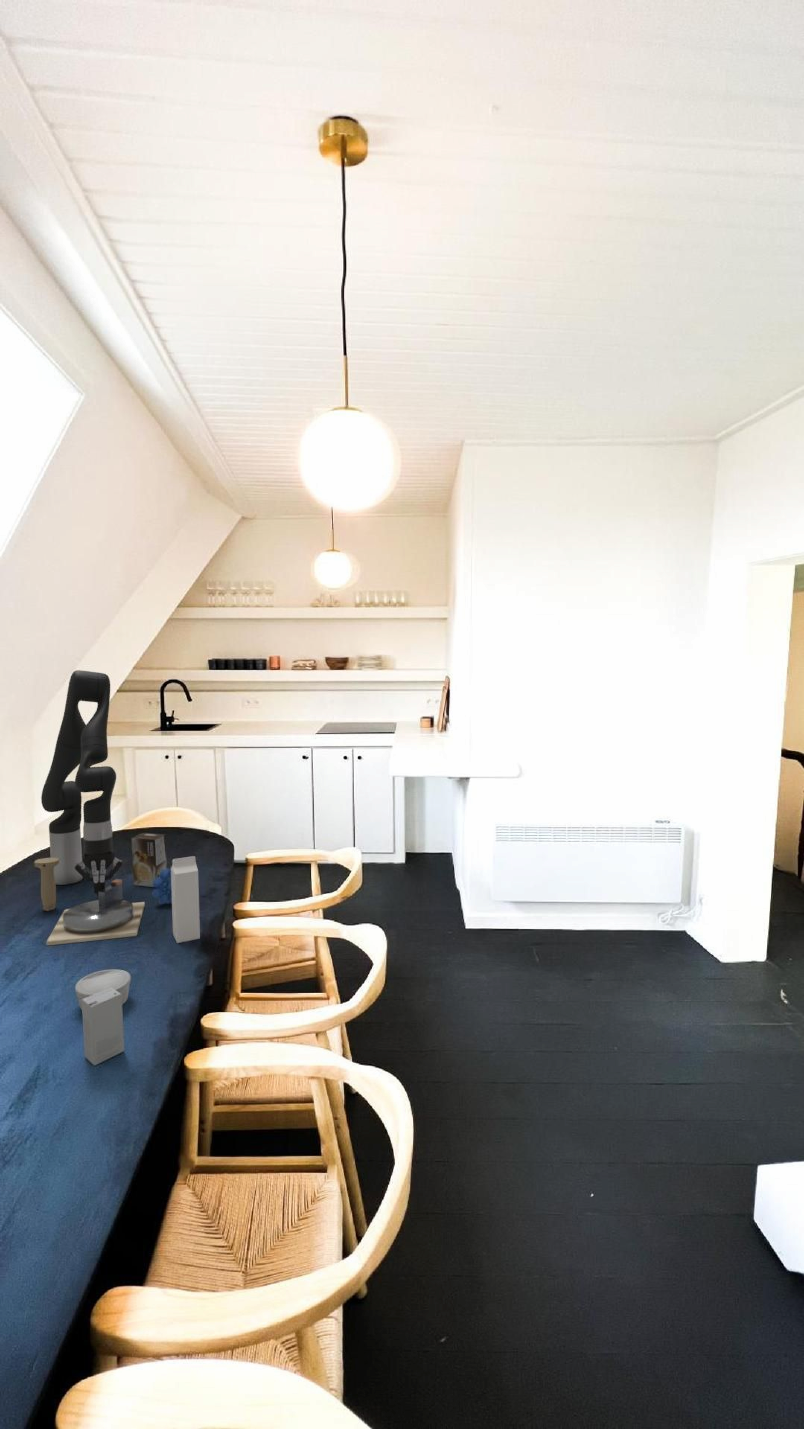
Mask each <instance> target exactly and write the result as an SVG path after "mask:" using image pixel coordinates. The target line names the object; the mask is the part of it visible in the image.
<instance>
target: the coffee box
mask: <svg viewBox="0 0 804 1429" xmlns="http://www.w3.org/2000/svg"><path fill="white" fill-rule="evenodd" d="M131 851H132V871H133V873H132V874H133V885H134V886H138V887H139V886H140V887H141V886H142V887H150V888H155V887H154V886H153V881H154V880H155V879H156V878H159V877H160V873H161V871H162V870H163V869H166V868H167V869H168V864H167V863H168V862H167V860H168V859H167V857H168V856H167V838H166V834H160V833H152V832H151V833H149V832H142V833H141V832H140V833H139V834H136V835H134V836H133V837H131Z"/></svg>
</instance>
